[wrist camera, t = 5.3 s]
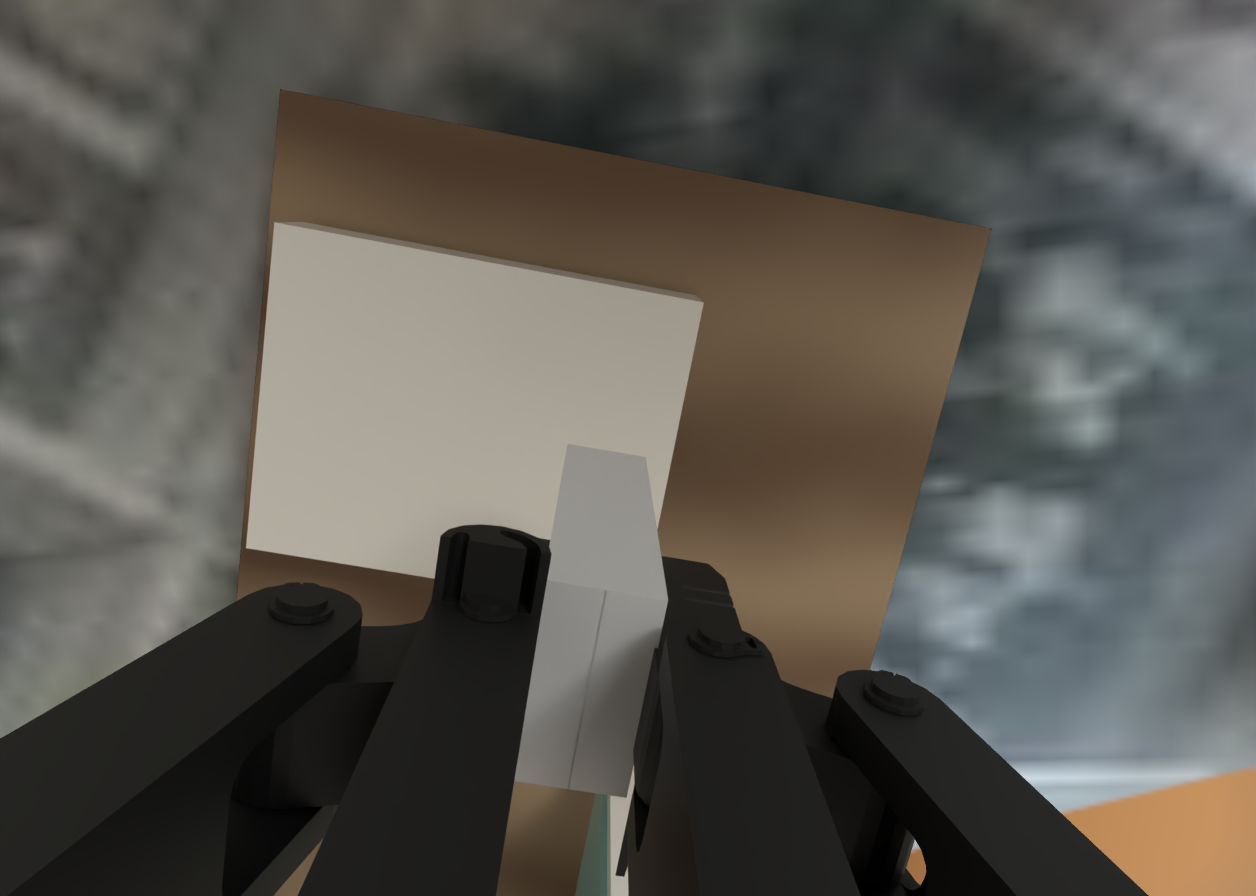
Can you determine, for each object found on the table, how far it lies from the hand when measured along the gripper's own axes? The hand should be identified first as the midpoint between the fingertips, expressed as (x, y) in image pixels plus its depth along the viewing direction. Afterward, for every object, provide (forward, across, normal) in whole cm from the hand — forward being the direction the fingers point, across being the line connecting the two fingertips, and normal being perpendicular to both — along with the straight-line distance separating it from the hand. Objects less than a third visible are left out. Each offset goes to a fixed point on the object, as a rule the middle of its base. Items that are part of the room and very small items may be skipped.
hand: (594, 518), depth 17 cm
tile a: (+6, +2, 0) cm, 6 cm away
